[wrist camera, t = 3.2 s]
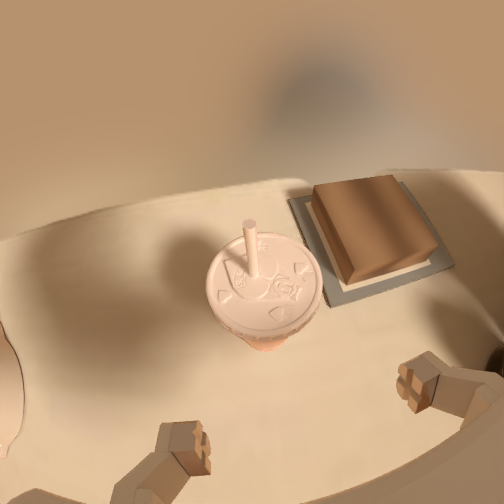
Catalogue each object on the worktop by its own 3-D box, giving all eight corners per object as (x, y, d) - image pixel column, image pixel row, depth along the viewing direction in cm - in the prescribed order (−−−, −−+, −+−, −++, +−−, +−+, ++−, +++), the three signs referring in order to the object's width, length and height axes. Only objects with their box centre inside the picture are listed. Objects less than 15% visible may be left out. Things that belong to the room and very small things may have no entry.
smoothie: (250, 285, 25) (232, 161, 13) (315, 313, 23) (358, 201, 11) (214, 346, 22) (151, 261, 10) (284, 379, 20) (306, 335, 8)
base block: (346, 285, 24) (354, 269, 21) (310, 205, 29) (313, 185, 27) (425, 261, 24) (438, 245, 22) (385, 192, 30) (392, 174, 27)
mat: (330, 308, 23) (331, 306, 23) (289, 201, 30) (289, 198, 30) (453, 266, 24) (455, 264, 24) (401, 183, 31) (402, 181, 31)
